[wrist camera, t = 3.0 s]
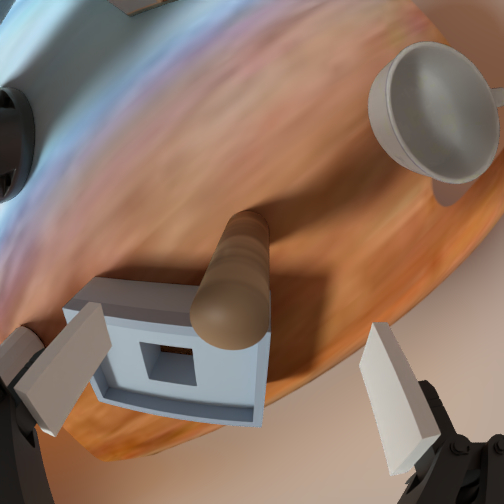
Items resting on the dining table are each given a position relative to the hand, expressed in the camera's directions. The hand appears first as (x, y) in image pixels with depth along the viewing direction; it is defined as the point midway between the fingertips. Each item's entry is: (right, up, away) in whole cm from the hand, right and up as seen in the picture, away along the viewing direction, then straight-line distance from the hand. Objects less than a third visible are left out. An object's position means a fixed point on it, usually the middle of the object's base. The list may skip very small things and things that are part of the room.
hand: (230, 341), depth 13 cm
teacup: (+17, +17, +9) cm, 26 cm away
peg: (+1, +6, +14) cm, 15 cm away
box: (-7, -6, +19) cm, 21 cm away
